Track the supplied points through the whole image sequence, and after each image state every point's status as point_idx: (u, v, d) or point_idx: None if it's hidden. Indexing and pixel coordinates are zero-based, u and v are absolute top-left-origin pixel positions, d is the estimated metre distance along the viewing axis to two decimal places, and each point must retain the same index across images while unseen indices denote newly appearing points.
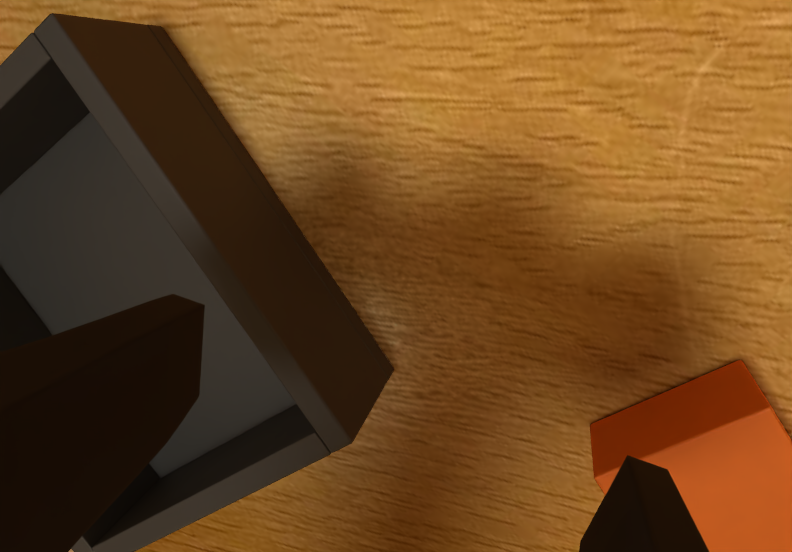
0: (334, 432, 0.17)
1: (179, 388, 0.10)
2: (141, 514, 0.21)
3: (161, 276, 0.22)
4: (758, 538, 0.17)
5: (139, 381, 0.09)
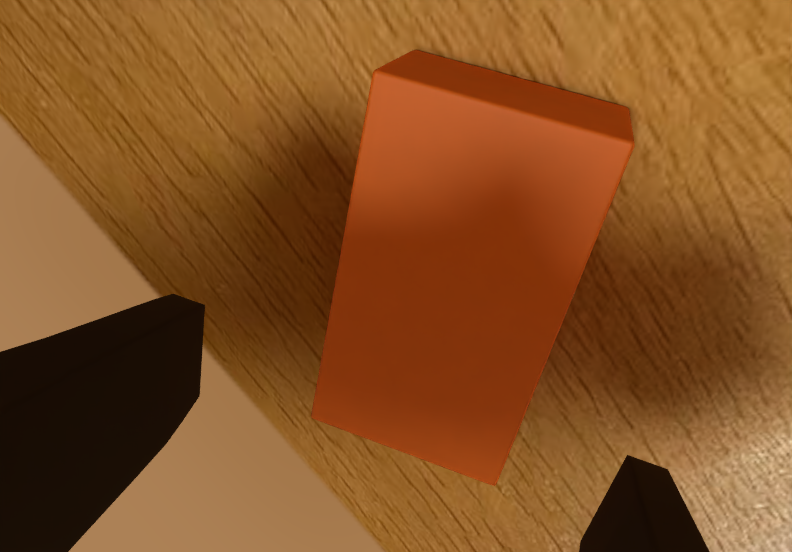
0: None
1: (179, 388, 0.10)
2: None
3: None
4: (476, 275, 0.13)
5: (139, 381, 0.09)
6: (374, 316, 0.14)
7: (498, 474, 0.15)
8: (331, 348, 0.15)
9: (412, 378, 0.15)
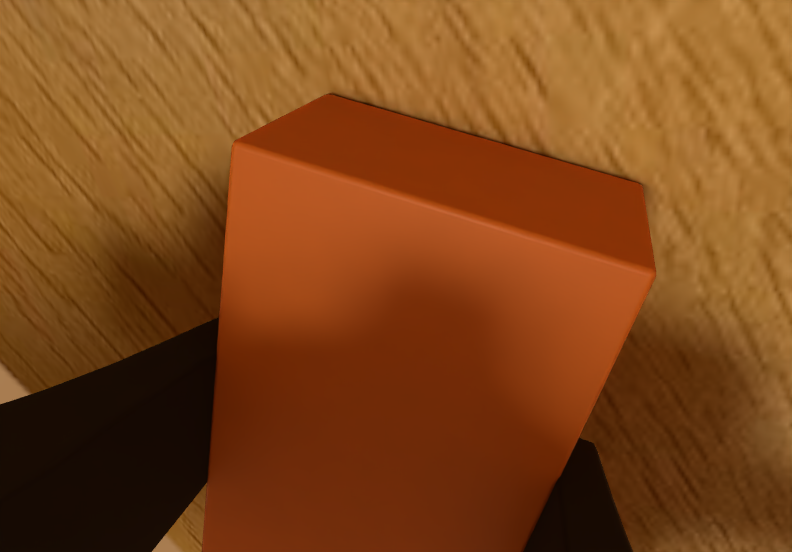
0: None
1: None
2: None
3: None
4: (409, 443, 0.09)
5: (201, 405, 0.09)
6: (267, 483, 0.10)
7: None
8: (214, 517, 0.11)
9: None
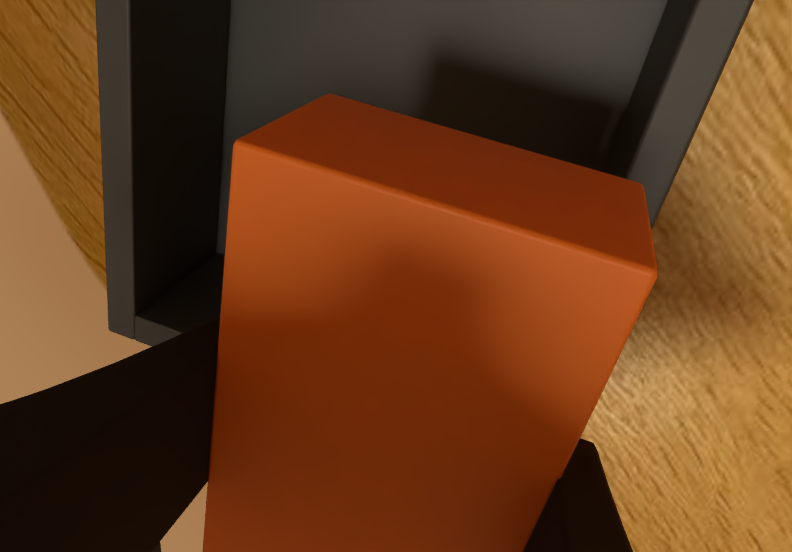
0: None
1: None
2: None
3: (437, 99, 0.16)
4: (410, 443, 0.09)
5: (201, 405, 0.09)
6: (268, 483, 0.10)
7: None
8: (215, 517, 0.11)
9: None
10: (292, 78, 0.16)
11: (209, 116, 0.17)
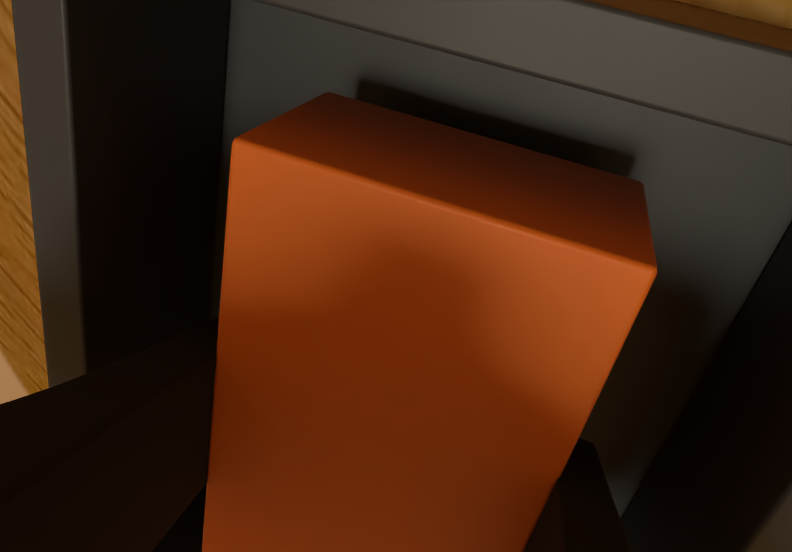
0: None
1: None
2: None
3: None
4: (409, 442, 0.09)
5: (201, 405, 0.09)
6: (267, 482, 0.10)
7: None
8: (215, 516, 0.11)
9: None
10: None
11: None
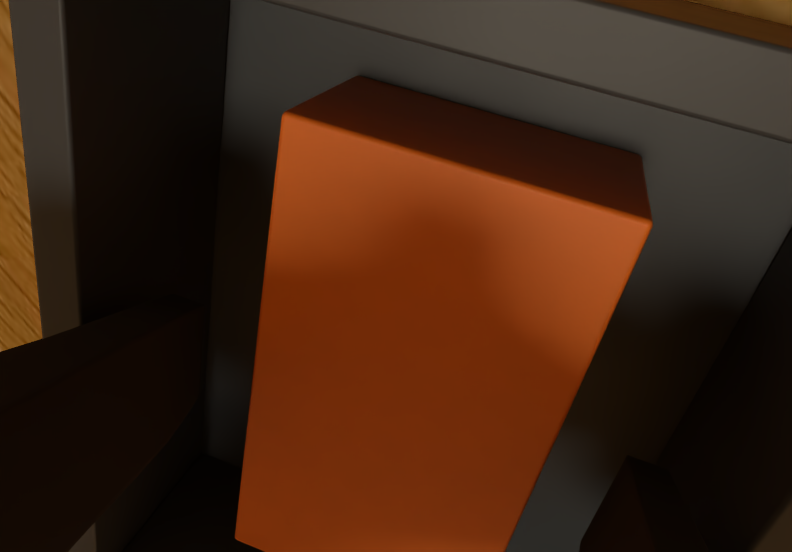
0: None
1: (179, 388, 0.10)
2: None
3: None
4: (433, 386, 0.10)
5: (139, 381, 0.09)
6: (303, 428, 0.11)
7: None
8: (252, 462, 0.12)
9: (356, 504, 0.11)
10: None
11: None
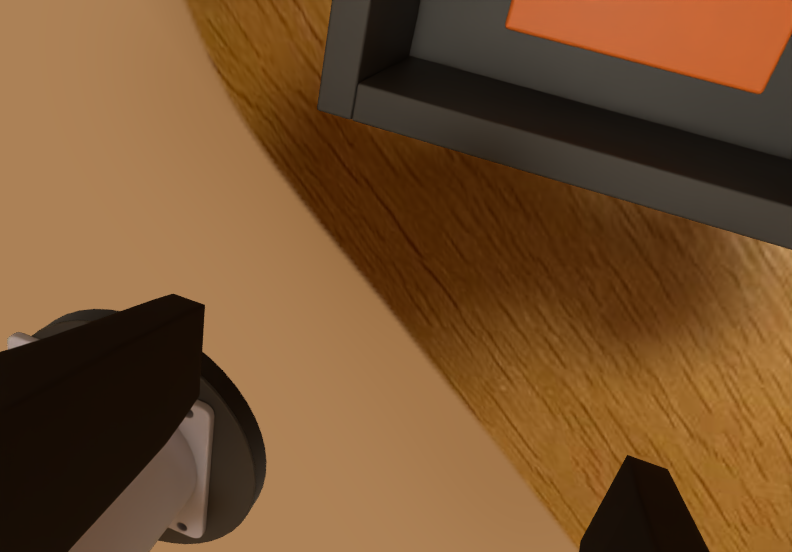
0: None
1: (179, 388, 0.10)
2: (456, 101, 0.13)
3: None
4: None
5: (139, 381, 0.09)
6: None
7: (771, 71, 0.12)
8: None
9: None
10: None
11: None
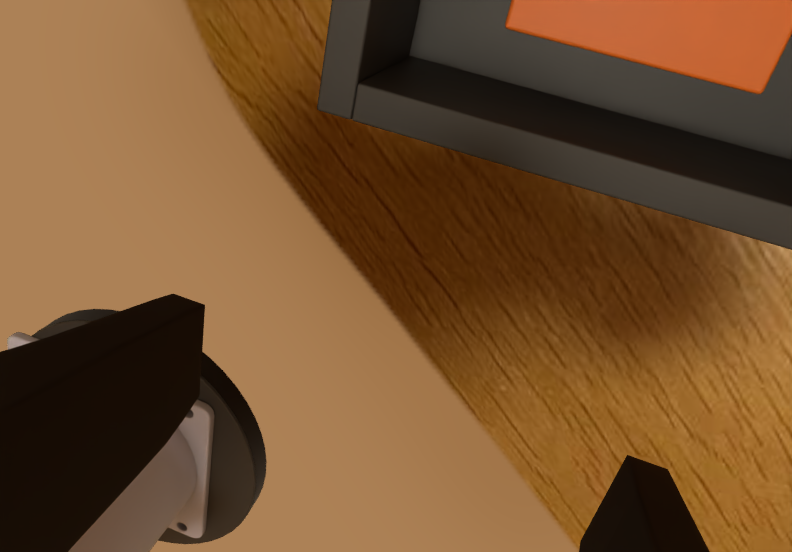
0: None
1: (179, 388, 0.10)
2: (456, 101, 0.13)
3: None
4: None
5: (139, 381, 0.09)
6: None
7: (771, 71, 0.12)
8: None
9: None
10: None
11: None
